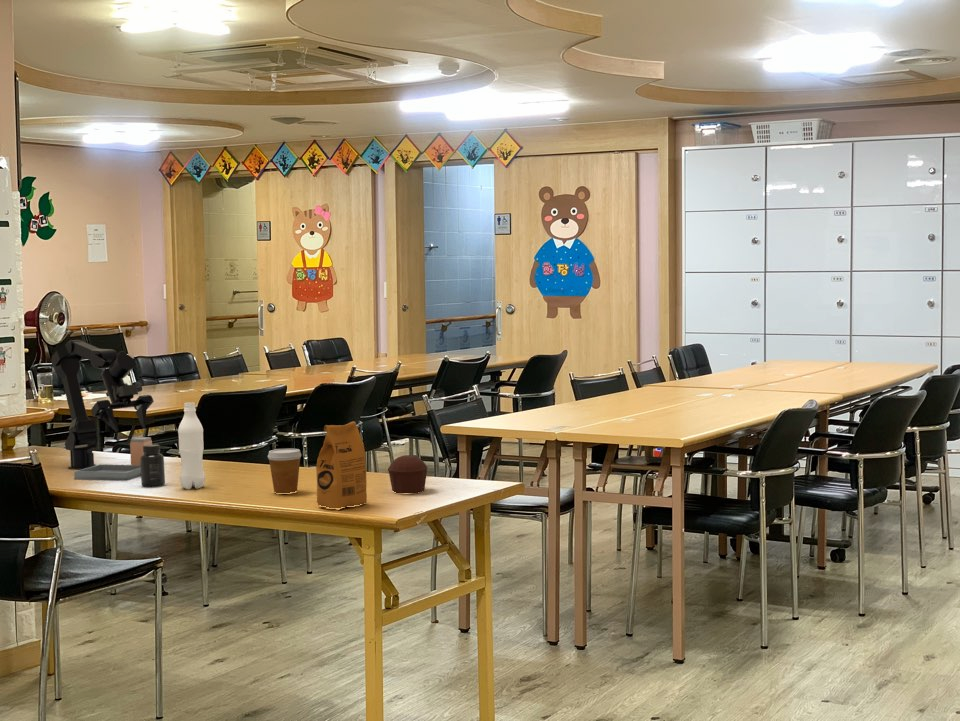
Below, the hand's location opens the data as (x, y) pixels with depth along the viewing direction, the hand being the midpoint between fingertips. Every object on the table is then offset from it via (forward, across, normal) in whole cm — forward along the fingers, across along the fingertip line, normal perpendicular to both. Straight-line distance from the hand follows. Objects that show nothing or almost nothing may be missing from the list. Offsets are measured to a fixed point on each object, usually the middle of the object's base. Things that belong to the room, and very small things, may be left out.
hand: (131, 429), depth 366 cm
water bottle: (+30, +1, -20) cm, 36 cm away
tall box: (+6, +10, +18) cm, 22 cm away
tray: (+9, -4, +14) cm, 17 cm away
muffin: (+60, +36, -66) cm, 96 cm away
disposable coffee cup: (+45, +13, -44) cm, 64 cm away
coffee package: (+60, +10, -68) cm, 91 cm away
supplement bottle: (+23, -5, -8) cm, 25 cm away
